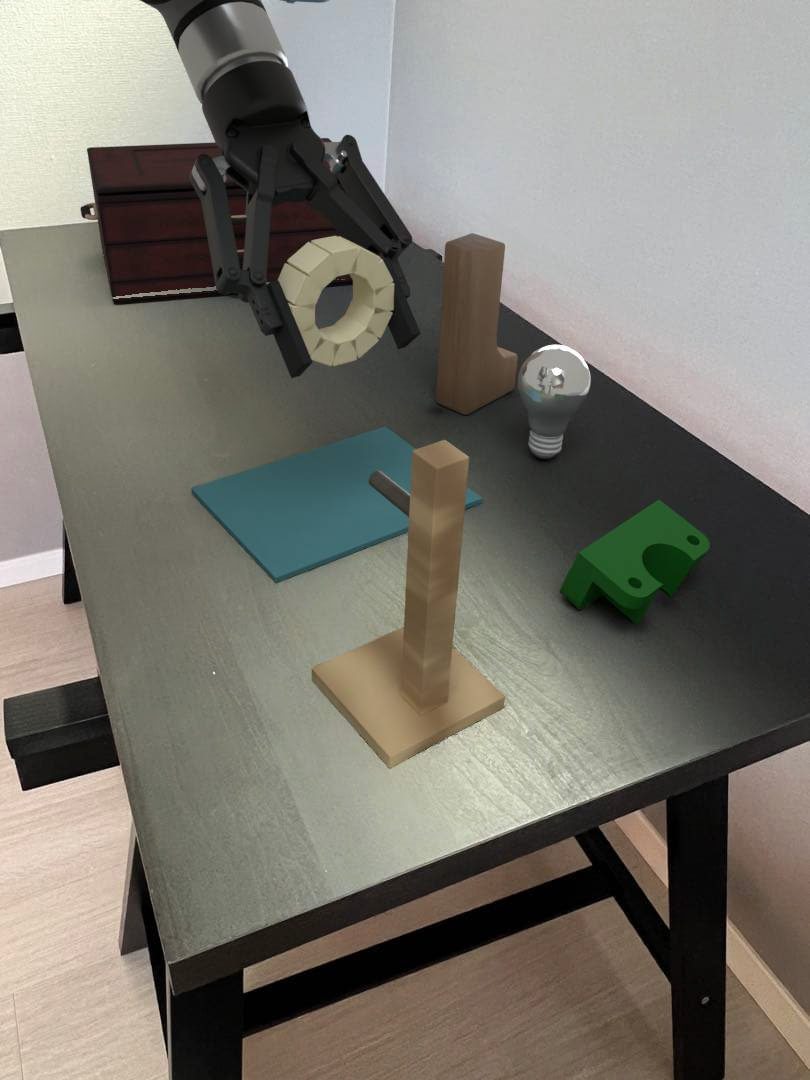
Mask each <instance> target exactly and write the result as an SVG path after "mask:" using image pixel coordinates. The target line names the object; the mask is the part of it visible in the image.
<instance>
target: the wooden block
mask: <svg viewBox="0 0 810 1080" xmlns="http://www.w3.org/2000/svg"><path fill="white" fill-rule="evenodd" d="M505 251H506V244H505V243H504V242H502V241H499V240H495V239H492V238H489V237H486V236H483V235H480V234H477V233H474V232H472V233H469V234H466V235H463V236H459V237H457V238H454V239H451V240H449V241H446V242H445V245H444V259H443V273H442V275H443V276H442V291H441V305H440V306H441V307H440V322H439V324H440V326H439V339H438V356H437V373H436V374H437V375H436V389H435V402H436V403H437V404H438V405H441V406H443V407H445V408H447V409H449V410H452V411H454V412H456V413H459V414H461V415H464V416H468V415H469V414H472V413H473V412H476V411H477V410H479V409H481V408H483V407H485V406H486V405H488V404H490V403H492V402H494V401H495V400H497V399H500V398H501V397H503V396H505V395H506V394H509V393H510V392H512V391H514V389H515V385H516V376H517V368H518V367H517V366H518V359H519V355H518V354H517V353H516V352H514V351H513V352H512V351H510V350H507V349H505V348H502V347H501V346H498V338H497V333H498V326H499V325H498V324H499V315H500V314H499V313H500V304H501V303H500V302H501V295H502V294H501V293H502V285H503V273H504V264H505V253H506V252H505Z"/></svg>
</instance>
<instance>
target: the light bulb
mask: <svg viewBox="0 0 810 1080" xmlns="http://www.w3.org/2000/svg"><path fill="white" fill-rule="evenodd" d="M589 368H590V367H589V366H588V363H587V362H586V361H585V359H584V358H583V357H582V355H581V354H579V353H578V352H577V351H576V350H575V349H573V348H571V347H569V346H567V345H562V344H550V345H545V346H542V347H540V348H537V349H536V350H534V351H533V352H532V353H530V354H529V355H528V356H527V358H526V359H525V360H524V362H523V363H522V365H521V367H520V370H519V372H518V376H517V390H518V395H519V398H520V400H521V403H522V404H523V406H524V408H525V410H526V413H527V416H528V418H527V419H528V420H527V421H528V426H529V429H530V430H529V437H528V447H529V450H530V451H531V453H532V454H533V455H534V456H535V457H537V458H538V459H539V460H541V461H547V460H549V459H551V458H553V457H554V456H556V455H557V454H558V453H560V452H561V451H562V445H563V438H564V434H565V432H566V430H567V429H568V427H569V424H570V420H571V419H572V418H573V417H574V415H575V414H576V413H577V412H578V411H580V409H581V408H582V406H584V404H585V402H586V400H587V399H588V397H589V394H590V390H591V385H592V377H591V372H590V371H591V370H590V369H589Z"/></svg>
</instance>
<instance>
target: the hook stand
mask: <svg viewBox="0 0 810 1080" xmlns="http://www.w3.org/2000/svg"><path fill="white" fill-rule="evenodd" d="M469 466H470V456H468V455H467V454H465V453H464V452H463V451H461V450H460V449H459V448H457V446H456V447H455V446H454V445H453V444H451V443H450V442H448V441H447V440H446V439H442V440H439V441H436V442H434V443H430V444H428V445H425V446H424V445H423V446H422V447H419V448H415V450H413V451H412V467H411V488H410V493H408V492H407V491H406V490H405V489H403V488H402V487H401V486H400V485H398V484H397V483H396V482H395V481H393V480H392V479H391V478H390V477H388V476H387V475H386V474H385V473H383V472H382V471H379V470H378V471H375V472H373V473H372V474H371V475H370V477H369V485H370V486H371V487H373V488H374V489H375V490H376V491H377V492H379V493H380V494H381V495H382V496H383V497H385V498H386V499H387V500H388V501H390V502H391V503H392V504H393V505H394V506H396V507H397V508H398V509H399V510H400V511H402V512H403V513H404V514H405V515H406V516H408V517H409V530H408V532H407V533H408V535H407V552H406V571H405V573H406V574H405V575H406V576H405V596H404V615H403V618H404V619H403V627H399V628H398V629H397V630H394V631H391V632H389V633H386V634H384V635H382V636H380V637H378V638H376V639H373V640H371V641H369V642H367V643H365V644H362V645H360V646H358V647H355V648H353V649H351V650H349V651H347V652H344V653H342V654H340V655H338V656H335V657H333V658H331V659H329V660H327V661H325V662H322V663H320V664H317V665H315V666H313V667H311V680H312V681H313V683H314V684H315V685H316V686H317V687H318V688H319V689H320V690H321V692H322V693H323V694H324V696H326V697H327V699H328V700H329V701H330V702H331V703H332V705H334V707H335V708H336V709H337V710H338V711H339V712H340V714H342V716H343V717H344V718H345V719H346V720H347V722H348V723H349V724H350V725H351V727H353V729H354V730H355V731H356V732H357V733H358V734H359V735H360V737H361V738H363V740H364V741H365V742H366V744H367V745H368V746H369V747H370V748H371V749H372V750H373V751H374V753H375V754H376V755H377V756H378V757H379V758H380V759H381V761H382V762H383V763H384V764H385V765H386V767H388V769H391V768H393V767H395V766H397V765H399V764H400V763H402V762H404V761H406V760H409V759H411V758H412V757H414V756H416V755H417V754H420V753H421V752H423V751H425V750H427V749H429V748H431V747H433V746H434V745H436V744H438V743H440V742H442V741H444V740H446V739H447V738H449V737H451V736H453V735H455V734H457V733H459V732H461V731H463V730H464V729H467V728H468V727H470V726H472V725H474V724H476V723H477V722H479V721H481V720H483V719H485V718H487V717H489V716H490V715H492V714H495V713H496V712H498V711H500V710H502V709H504V707H505V703H506V702H505V701H506V696H505V694H503V692H502V691H500V689H499V688H498V687H496V686H495V685H494V684H493V683H492V682H491V681H490V680H489V679H488V678H487V677H486V676H485V675H484V674H482V673H481V672H480V670H478V669H477V667H475V666H473V664H471V662H470V661H468V660H467V659H466V658H465V657H464V656H463V655H462V654H461V653H460V652H459V651H457V650H456V649H455V648H454V647H453V646H454V645H453V644H454V634H455V622H456V612H457V611H456V610H457V600H458V589H459V588H458V586H459V578H460V568H461V567H460V566H461V557H462V543H463V533H464V522H465V511H466V509H465V500H466V489H467V487H468V478H469V477H468V476H469Z"/></svg>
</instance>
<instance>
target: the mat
mask: <svg viewBox="0 0 810 1080" xmlns="http://www.w3.org/2000/svg"><path fill="white" fill-rule="evenodd" d="M415 449H416V447H414V446H413V445H411V444H410V443H409V442H407V441H406V440H404V439H403V438H402V437H400V436H399V435H398V434H396V433H395V432H394V431H393V430H391V429H389V428H388V427H387V426H382V427H378V428H376V429H372V430H369V431H365V432H363V433H360V434H356V435H354V436H351V437H347V438H345V439H342V440H341V439H340V440H337V441H334V442H333V443H332V442H331V443H328V444H325V445H322V446H319V447H316V448H312V449H309V450H307V451H303V452H300V453H297V454H293V455H290V456H287V457H284V458H282V459H278V460H275V461H271V462H269V463H265V464H263V465H259V466H256V467H252V468H250V469H247V470H243V471H240V472H237V473H233V474H231V475H228V476H224V477H221V478H218V479H215V480H212V481H209V482H205V483H203V484H199V485H196V486H193V487H190V490H191V494H192V495H193V496H194V497H195V498H196V499H197V501H198V502H199V503H200V504H201V505H202V506H203V507H204V509H206V510H207V511H208V512H209V513H210V514H211V515H212V516H213V517H214V518H215V519H216V521H217V522H218V523H219V524H220V525H221V526H222V527H223V529H225V531H227V532H228V533H229V534H230V535H231V537H232V538H233V539H234V540H235V541H236V543H238V545H240V546H241V547H242V549H244V551H245V552H246V553H247V554H248V555H249V556H250V557H251V558H252V559H253V560H254V561H255V562H256V564H257V565H259V567H260V568H261V569H262V570H263V571H264V572H265V573H266V575H268V576H269V577H270V578H271V579H272V581H274V583H276V584H277V583H280V582H282V581H285V580H288V579H289V578H294V577H296V576H298V575H300V574H303V573H305V572H308V571H310V570H314V569H315V568H318V567H321V566H323V565H326V564H329V563H331V562H334V561H337V560H338V559H339V560H340V559H341V558H344V557H346V556H348V555H349V556H350V555H352V554H354V553H357V552H359V551H362V550H364V549H367V548H370V547H372V546H375V545H378V544H380V543H383V542H385V541H388V540H391V539H393V538H395V537H396V538H397V537H398V536H401V535H403V534H406V533H408V530H409V517H408V516H406V515H405V514H404V513H403V512H402V511H400V510H399V509H398V508H397V507H396V506H394V505H393V504H392V503H391V502H390V501H388V500H387V499H386V498H385V497H383V496H382V495H381V494H380V493H379V492H377V491H376V490H375V489H374V488H373V487H371V486H370V485H369V477H370V475H371V474H372V473H373V472H375V471H378V470H379V471H382V472H383V473H385V474H386V475H387V476H388V477H390V478H391V479H392V480H393V481H395V482H396V483H397V484H398V485H400V486H401V487H402V488H403V489H405V490H406V491H407V492H408V493H410V488H411V467H412V451H413V450H415ZM482 503H483V497H481V496H480V495H479V494H477V493H476V492H475V491H473V489H471V488H470V487H468V486H467V489H466V500H465V510H467V509H470V508H473V507H476V506H478V505H481V504H482Z"/></svg>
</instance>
